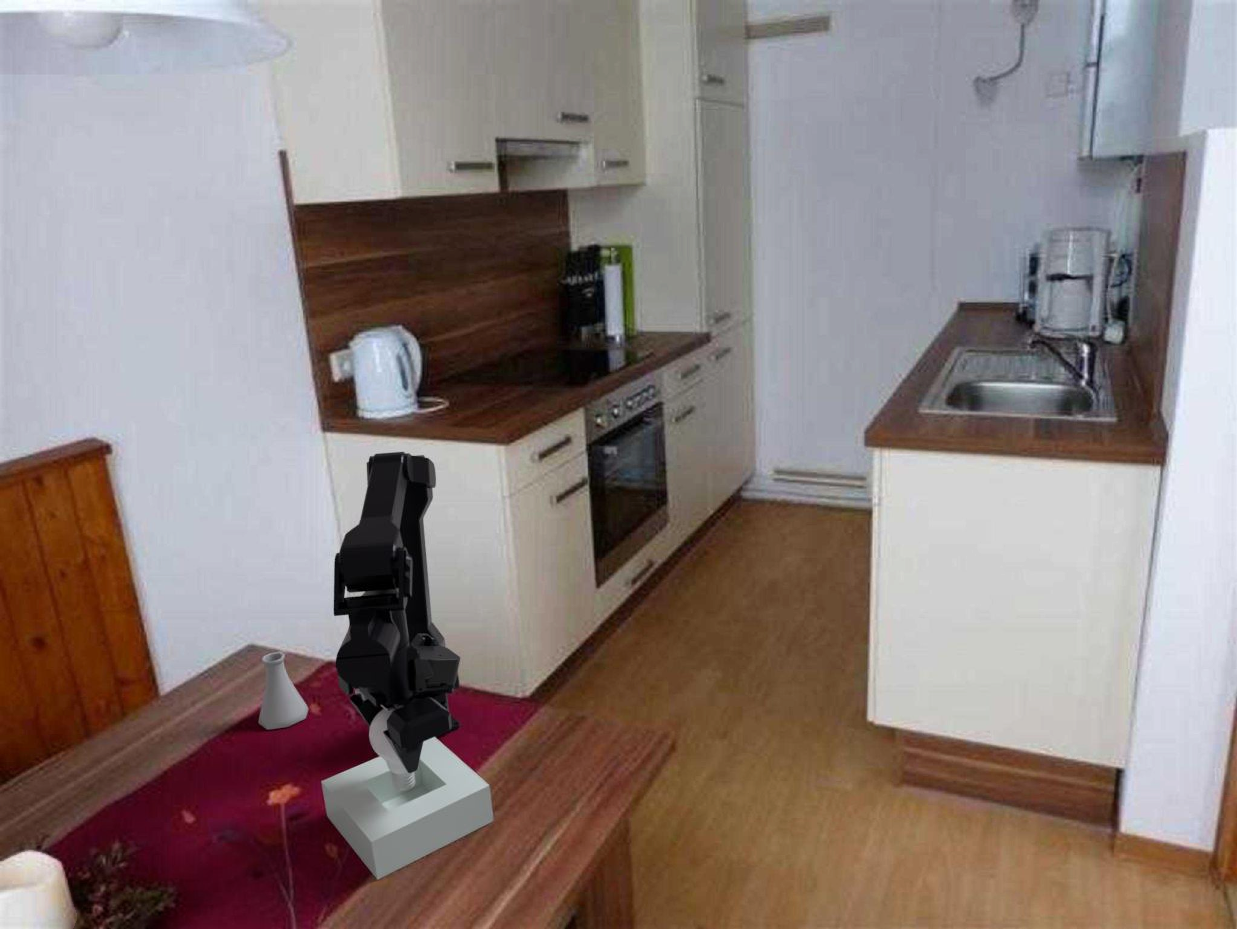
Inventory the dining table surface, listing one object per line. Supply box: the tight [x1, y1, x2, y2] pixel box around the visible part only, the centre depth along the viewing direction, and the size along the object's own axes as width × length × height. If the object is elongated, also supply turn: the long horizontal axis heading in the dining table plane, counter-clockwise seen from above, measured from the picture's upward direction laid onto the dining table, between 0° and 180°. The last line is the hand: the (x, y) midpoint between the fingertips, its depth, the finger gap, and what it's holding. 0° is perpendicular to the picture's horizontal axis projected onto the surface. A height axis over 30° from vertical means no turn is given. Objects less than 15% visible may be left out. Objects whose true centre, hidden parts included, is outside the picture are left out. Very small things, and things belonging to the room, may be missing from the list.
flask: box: [258, 651, 309, 731], centre depth 138 cm, size 7×7×10 cm
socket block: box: [320, 737, 494, 881], centre depth 114 cm, size 15×15×5 cm
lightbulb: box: [368, 709, 416, 791], centre depth 112 cm, size 6×6×11 cm
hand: (401, 760), depth 113 cm, fingers closed on lightbulb, 6 cm apart
